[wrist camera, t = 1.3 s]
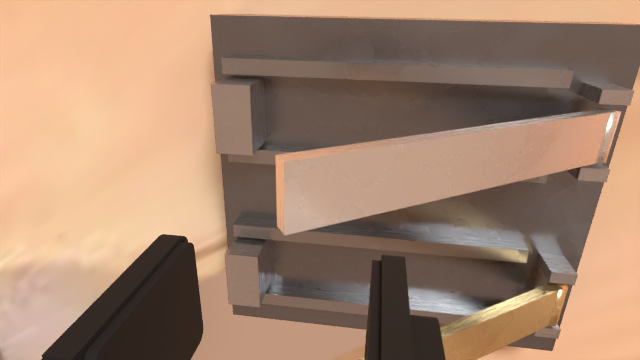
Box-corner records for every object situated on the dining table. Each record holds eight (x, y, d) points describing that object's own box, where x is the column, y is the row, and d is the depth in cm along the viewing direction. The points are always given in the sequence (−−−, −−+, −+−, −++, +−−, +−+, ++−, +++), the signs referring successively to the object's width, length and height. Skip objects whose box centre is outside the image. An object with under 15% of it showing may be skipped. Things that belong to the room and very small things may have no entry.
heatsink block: (615, 23, 27) (690, 27, 20) (535, 316, 36) (569, 384, 30) (231, 14, 30) (188, 15, 24) (247, 285, 39) (219, 341, 33)
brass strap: (555, 278, 29) (571, 287, 28) (545, 312, 30) (561, 322, 29) (279, 387, 20) (289, 407, 19) (280, 430, 21) (289, 451, 20)
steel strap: (604, 107, 24) (625, 111, 23) (590, 155, 25) (610, 161, 24) (273, 153, 16) (285, 163, 15) (275, 224, 17) (286, 237, 16)
